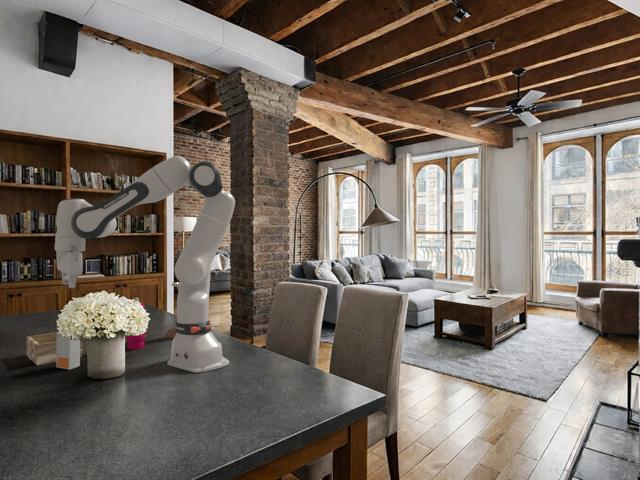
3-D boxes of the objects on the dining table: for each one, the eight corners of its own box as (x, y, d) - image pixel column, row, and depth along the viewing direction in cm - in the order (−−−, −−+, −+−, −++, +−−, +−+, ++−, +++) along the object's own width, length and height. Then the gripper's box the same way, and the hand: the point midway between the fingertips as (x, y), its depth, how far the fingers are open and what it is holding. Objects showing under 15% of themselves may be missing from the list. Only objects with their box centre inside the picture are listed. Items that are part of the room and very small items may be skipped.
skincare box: (55, 368, 135) (55, 332, 135) (66, 364, 139) (67, 329, 139) (69, 370, 134) (69, 334, 133) (80, 366, 138) (80, 331, 138)
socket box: (82, 356, 148) (82, 337, 148) (37, 365, 138) (37, 345, 137) (69, 347, 159) (69, 330, 159) (26, 355, 148) (26, 336, 148)
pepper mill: (140, 350, 157) (141, 299, 157) (122, 349, 158) (122, 298, 157) (148, 344, 165) (149, 296, 164) (131, 344, 165) (131, 296, 164)
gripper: (88, 247, 132) (86, 289, 132) (73, 244, 147) (72, 282, 147) (66, 247, 127) (64, 290, 128) (53, 244, 142) (51, 282, 142)
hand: (68, 286), depth 137 cm, fingers open, 8 cm apart
